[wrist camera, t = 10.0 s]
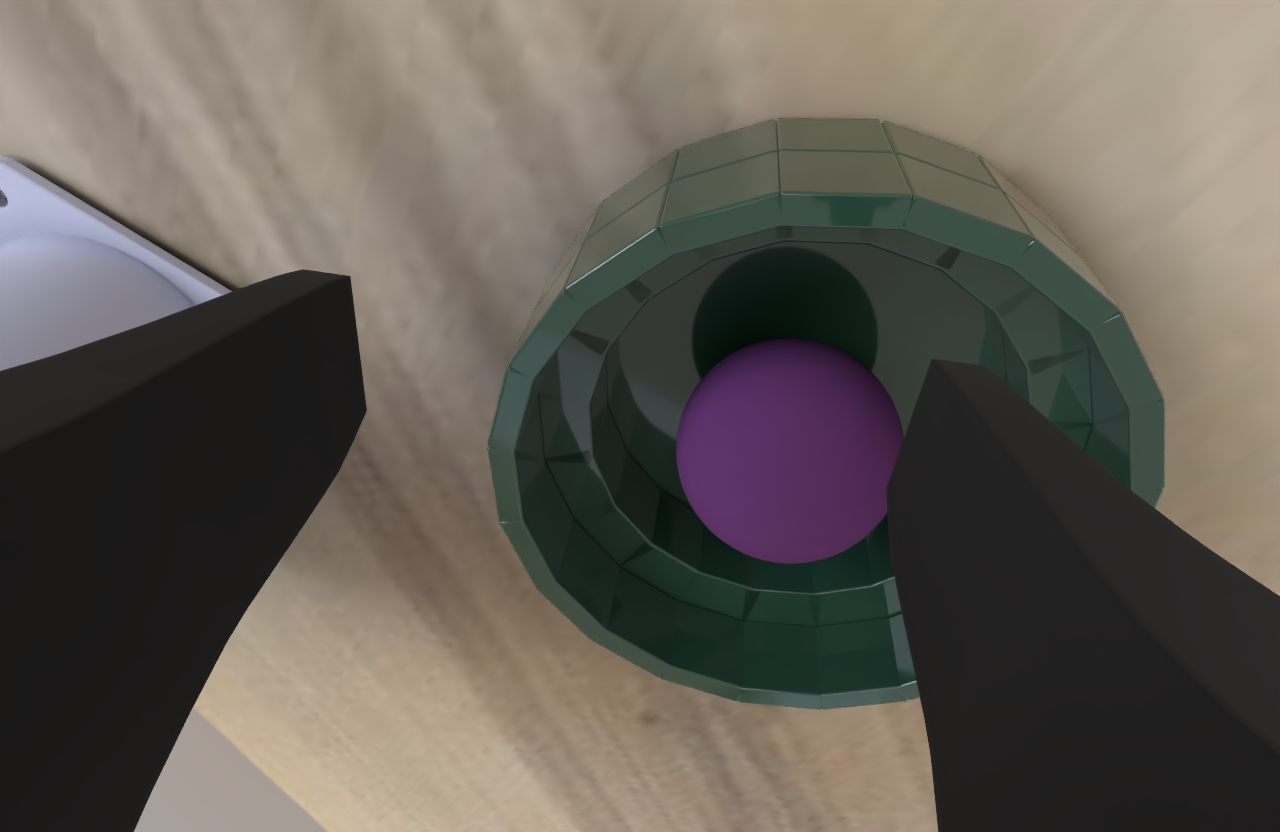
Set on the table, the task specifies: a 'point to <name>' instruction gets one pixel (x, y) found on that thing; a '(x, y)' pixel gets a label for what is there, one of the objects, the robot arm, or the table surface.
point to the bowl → (774, 309)
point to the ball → (789, 450)
